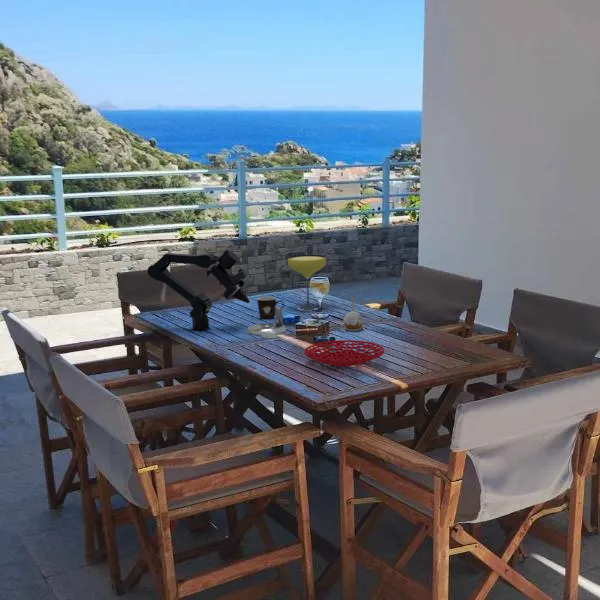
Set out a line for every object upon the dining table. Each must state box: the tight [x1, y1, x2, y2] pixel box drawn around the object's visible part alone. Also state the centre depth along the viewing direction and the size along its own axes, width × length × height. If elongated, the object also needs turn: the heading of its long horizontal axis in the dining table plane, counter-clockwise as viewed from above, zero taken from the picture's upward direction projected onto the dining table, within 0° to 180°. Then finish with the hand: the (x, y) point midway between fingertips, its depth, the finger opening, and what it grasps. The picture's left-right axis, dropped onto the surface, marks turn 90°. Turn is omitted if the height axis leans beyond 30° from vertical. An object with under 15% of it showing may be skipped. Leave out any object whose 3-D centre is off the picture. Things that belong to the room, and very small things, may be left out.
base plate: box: [243, 330, 277, 339], centre depth 346 cm, size 20×20×4 cm
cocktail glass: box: [287, 254, 327, 310], centre depth 391 cm, size 18×18×25 cm
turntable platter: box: [247, 306, 287, 337], centre depth 346 cm, size 16×16×10 cm
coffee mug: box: [256, 296, 285, 320], centre depth 371 cm, size 12×9×10 cm
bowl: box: [303, 339, 386, 368], centre depth 299 cm, size 29×29×5 cm
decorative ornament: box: [343, 294, 363, 332], centre depth 348 cm, size 8×8×15 cm
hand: (248, 302), depth 351 cm, fingers closed
